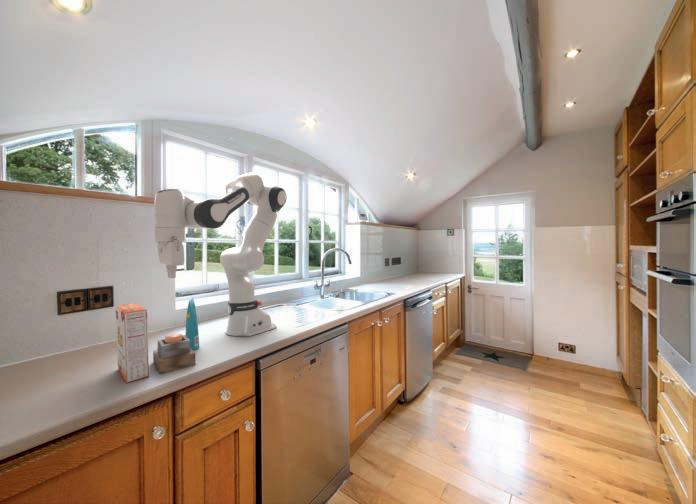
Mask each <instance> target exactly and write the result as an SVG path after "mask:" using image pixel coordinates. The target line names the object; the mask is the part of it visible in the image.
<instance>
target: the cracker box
mask: <svg viewBox="0 0 696 504" xmlns="http://www.w3.org/2000/svg"><path fill="white" fill-rule="evenodd" d="M115 321H116V323H115V324H116V344H117V345H116V348H117V352H116V353H117V369H118V371H119V373H120V374H121V376H122V377H123V379H124V381H125V383H126V384H127V383H133V382H135V381H138V380H141V379H145V378H148V377H149V376H150V371H149V370H150V365H149V337H148V335H149V333H148V311H147V309H146V308H145V307H143V306H142V305H140V304H139V303H126V304H120V305H119V304H118V305H116V306H115Z"/></svg>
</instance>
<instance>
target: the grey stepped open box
mask: <svg viewBox="0 0 696 504" xmlns="http://www.w3.org/2000/svg"><path fill="white" fill-rule="evenodd" d="M152 356H153V358H152V361H153V364H154V366H155V369H156V370H157V371H158V373H159V375H162V374H166V373H169V372H174V371H177V370H180V369H184V368H188V367H192V366H195V365H196V352H195V350H192V349H191V348H190V340H189V339H188V338H187V337H186V336H185V334H182V341H180V342H175V343H170V344H165V338H161V339H157V350H156V349H155V350H153V351H152Z"/></svg>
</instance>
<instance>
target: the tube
mask: <svg viewBox="0 0 696 504" xmlns="http://www.w3.org/2000/svg"><path fill="white" fill-rule="evenodd" d="M195 303H196V302H195V300H194V297H192V298H191V299H190V300H189V301H188V304H187V309H186V318H185V334H184V335H185V336H186V337H187V338H188V339H189V340H190V348H191V349H192V350H193V351H196V350H197V349H199V348H200V336H199V324H198V316H197V314H198V313H197V309H196V304H195Z"/></svg>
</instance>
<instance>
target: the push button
mask: <svg viewBox="0 0 696 504" xmlns="http://www.w3.org/2000/svg"><path fill="white" fill-rule="evenodd" d="M182 335H183V334H182V333H171V334H168V335H165V337H164V339H165V344H170V343H175V342H180V341H182Z"/></svg>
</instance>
